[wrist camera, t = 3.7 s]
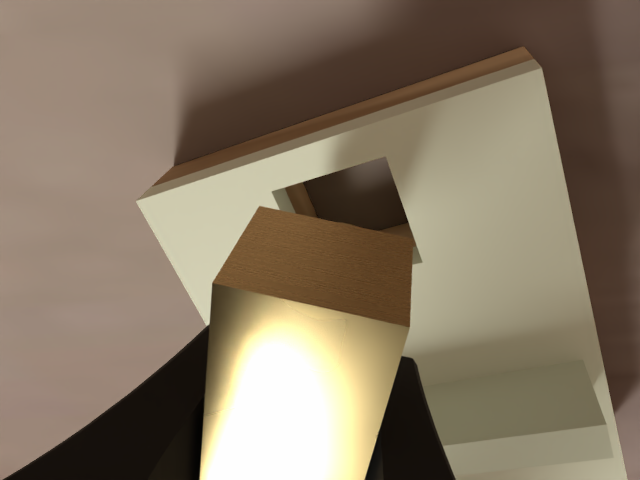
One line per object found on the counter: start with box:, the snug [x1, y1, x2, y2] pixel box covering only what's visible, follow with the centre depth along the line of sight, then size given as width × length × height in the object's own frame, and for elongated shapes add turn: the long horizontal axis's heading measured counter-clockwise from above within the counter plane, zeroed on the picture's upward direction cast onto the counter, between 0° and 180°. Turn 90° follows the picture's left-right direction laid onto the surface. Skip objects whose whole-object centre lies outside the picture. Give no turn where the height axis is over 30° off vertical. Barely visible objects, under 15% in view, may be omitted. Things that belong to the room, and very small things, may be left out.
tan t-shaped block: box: [200, 206, 413, 480], centre depth 11 cm, size 2×7×7 cm, turn 171°
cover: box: [136, 59, 627, 480], centre depth 16 cm, size 14×11×3 cm
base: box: [152, 46, 534, 247], centre depth 18 cm, size 14×11×2 cm
